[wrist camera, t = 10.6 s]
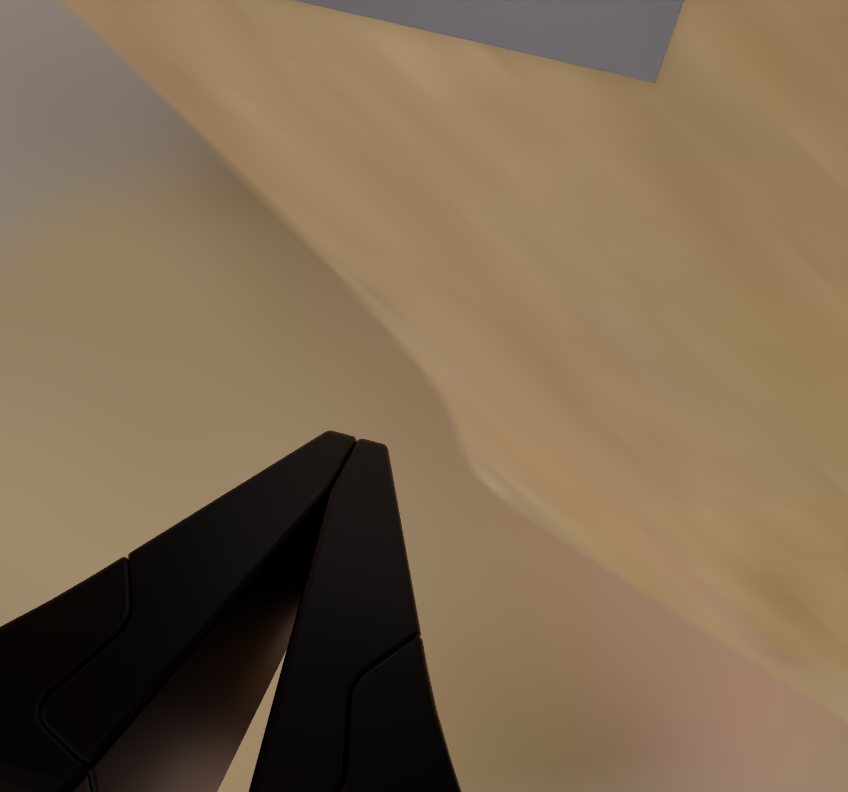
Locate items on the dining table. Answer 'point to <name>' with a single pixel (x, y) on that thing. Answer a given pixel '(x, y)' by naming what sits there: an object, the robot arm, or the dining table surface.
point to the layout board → (544, 27)
